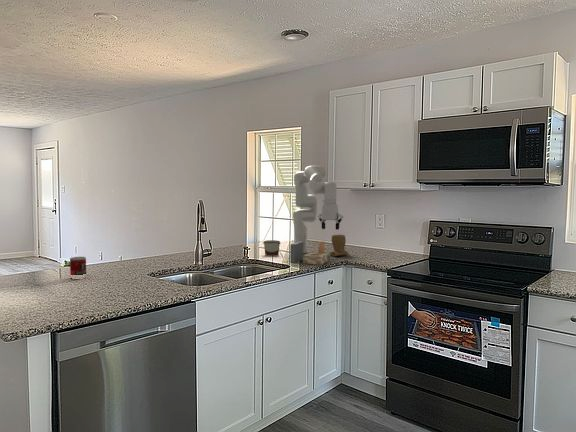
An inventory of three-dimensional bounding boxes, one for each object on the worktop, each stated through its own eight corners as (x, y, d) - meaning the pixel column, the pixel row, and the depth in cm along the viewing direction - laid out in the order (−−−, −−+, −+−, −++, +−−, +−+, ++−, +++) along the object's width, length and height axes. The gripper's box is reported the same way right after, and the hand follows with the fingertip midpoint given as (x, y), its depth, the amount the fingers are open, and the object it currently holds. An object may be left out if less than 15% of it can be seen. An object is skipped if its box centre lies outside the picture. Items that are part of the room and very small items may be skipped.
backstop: (299, 259, 299) (299, 241, 298) (303, 259, 297) (303, 241, 297) (290, 262, 286) (290, 244, 285) (294, 263, 285) (294, 244, 284)
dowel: (319, 259, 300) (319, 241, 299) (325, 259, 298) (325, 241, 297) (317, 260, 296) (317, 242, 296) (323, 260, 295) (323, 242, 294)
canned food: (76, 280, 232) (75, 259, 231) (67, 278, 236) (66, 258, 235) (89, 277, 238) (89, 257, 237) (80, 276, 242) (80, 256, 242)
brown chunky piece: (338, 253, 326) (338, 232, 325) (351, 255, 317) (351, 234, 316) (324, 255, 316) (324, 234, 314) (337, 257, 307) (338, 235, 306)
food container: (281, 254, 321) (281, 240, 320) (280, 255, 315) (280, 241, 314) (264, 253, 322) (264, 240, 321) (263, 255, 316) (263, 241, 315)
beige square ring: (310, 260, 294) (310, 252, 294) (327, 261, 289) (327, 254, 289) (302, 263, 283) (302, 255, 283) (320, 264, 278) (320, 256, 278)
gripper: (315, 202, 281) (315, 229, 282) (339, 202, 271) (340, 230, 272) (321, 201, 287) (321, 228, 288) (345, 201, 278) (345, 229, 278)
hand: (330, 229), depth 280 cm, fingers open, 9 cm apart
